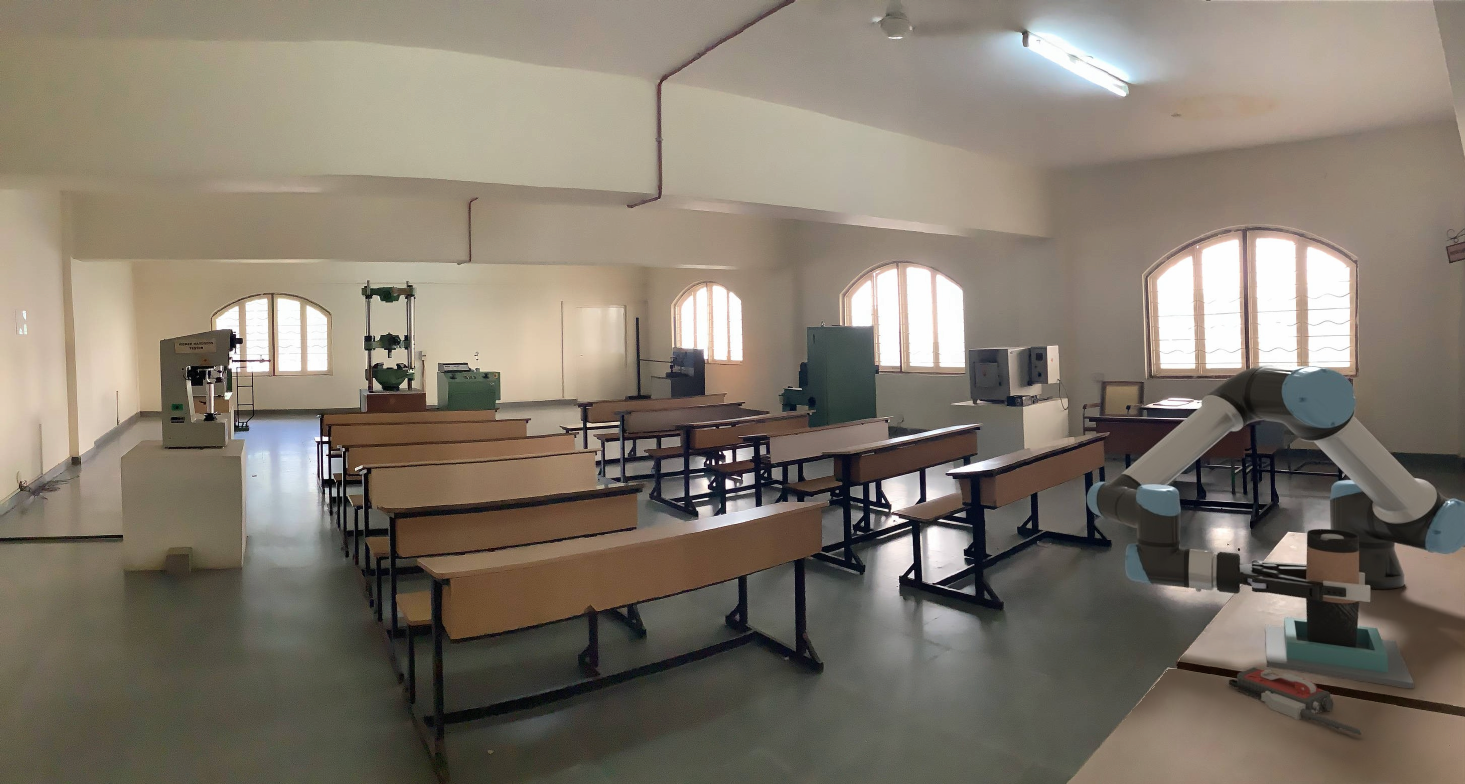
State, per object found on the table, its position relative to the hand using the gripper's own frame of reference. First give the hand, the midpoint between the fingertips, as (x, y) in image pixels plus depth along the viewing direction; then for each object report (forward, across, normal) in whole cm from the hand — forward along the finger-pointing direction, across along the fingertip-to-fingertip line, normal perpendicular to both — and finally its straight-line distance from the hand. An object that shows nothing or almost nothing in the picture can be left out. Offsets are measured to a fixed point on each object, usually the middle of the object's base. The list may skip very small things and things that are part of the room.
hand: (1366, 586), depth 143 cm
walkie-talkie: (-11, +25, -14) cm, 31 cm away
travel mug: (-5, 0, -11) cm, 12 cm away
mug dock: (-5, 0, -13) cm, 14 cm away
